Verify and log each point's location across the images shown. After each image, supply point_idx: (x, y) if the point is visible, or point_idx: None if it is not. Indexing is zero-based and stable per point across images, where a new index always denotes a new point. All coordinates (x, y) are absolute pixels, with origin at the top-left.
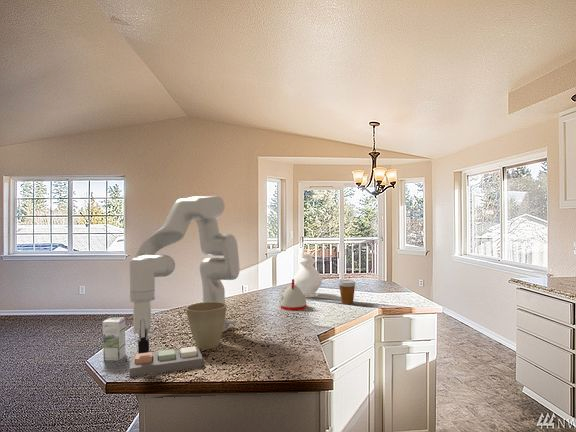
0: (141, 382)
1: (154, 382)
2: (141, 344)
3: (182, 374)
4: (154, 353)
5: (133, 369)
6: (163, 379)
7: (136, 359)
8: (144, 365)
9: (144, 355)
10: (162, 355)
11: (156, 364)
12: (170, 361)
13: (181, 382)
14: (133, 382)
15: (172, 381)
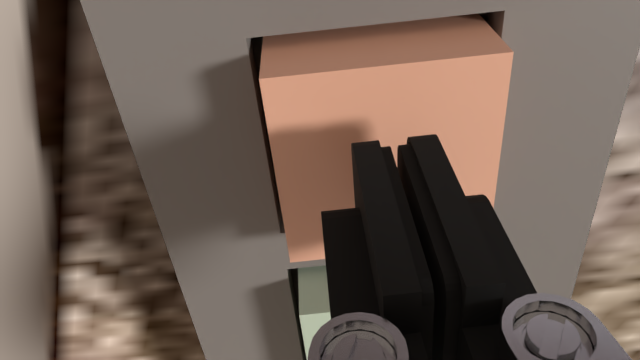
0: (54, 90)
1: (51, 194)
2: (330, 297)
3: (194, 342)
4: (562, 214)
5: (101, 42)
6: (112, 248)
7: (263, 90)
8: (179, 164)
9: None
10: (306, 341)
11: (189, 268)
12: (244, 356)
13: (48, 346)
14: (55, 9)
15: (68, 302)
